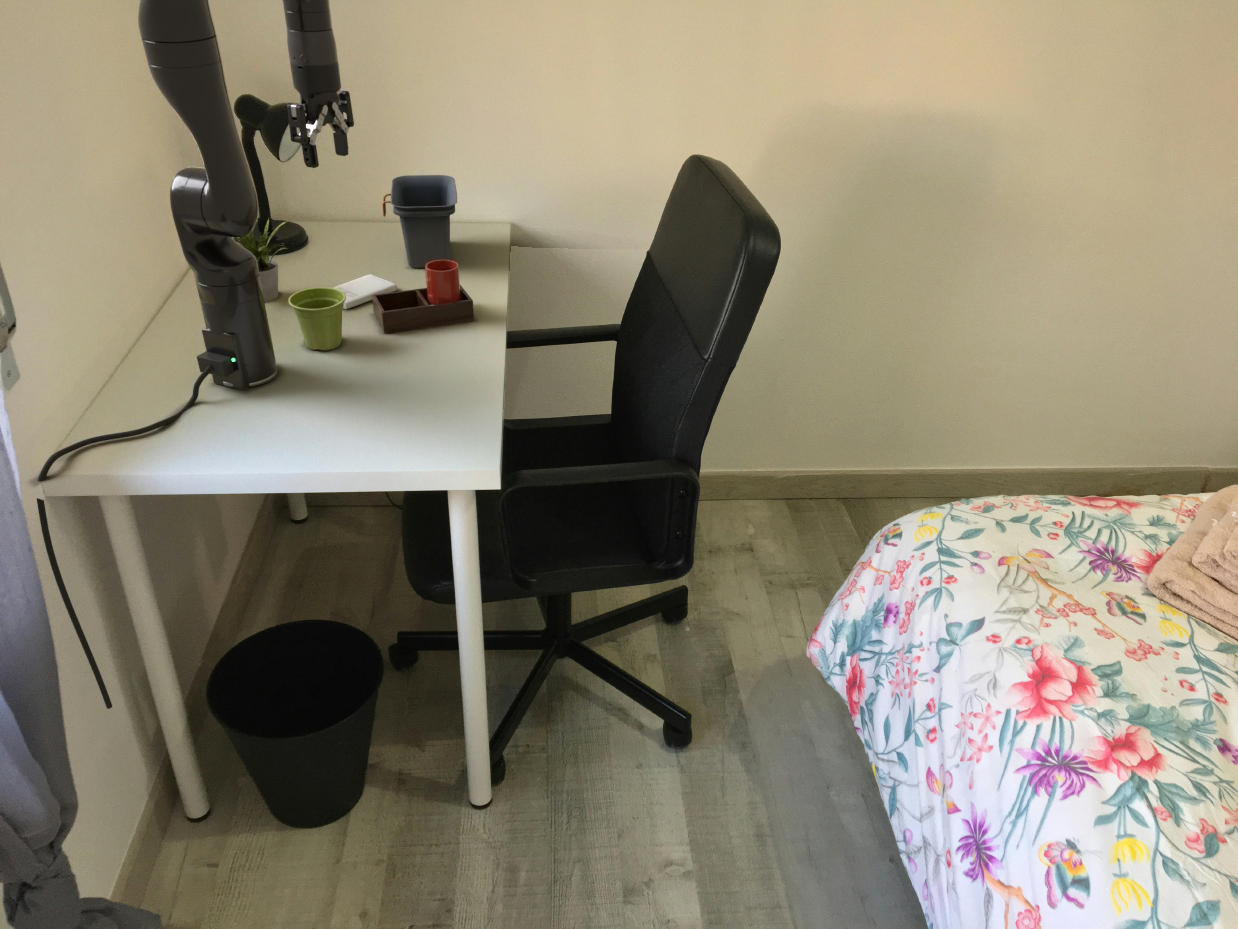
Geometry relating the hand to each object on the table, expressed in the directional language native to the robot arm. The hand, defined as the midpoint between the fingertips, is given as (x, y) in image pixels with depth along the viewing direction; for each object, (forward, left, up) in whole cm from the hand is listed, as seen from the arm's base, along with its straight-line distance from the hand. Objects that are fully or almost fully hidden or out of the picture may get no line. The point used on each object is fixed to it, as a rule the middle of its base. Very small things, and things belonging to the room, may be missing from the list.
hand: (327, 160), depth 156 cm
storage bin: (+33, +3, -28) cm, 43 cm away
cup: (+7, -17, -27) cm, 33 cm away
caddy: (+4, -14, -28) cm, 32 cm away
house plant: (-1, +20, -28) cm, 35 cm away
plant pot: (-13, -4, -28) cm, 31 cm away
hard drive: (+8, +3, -28) cm, 30 cm away
